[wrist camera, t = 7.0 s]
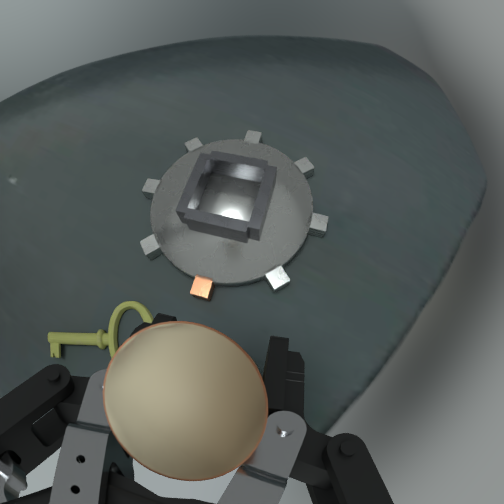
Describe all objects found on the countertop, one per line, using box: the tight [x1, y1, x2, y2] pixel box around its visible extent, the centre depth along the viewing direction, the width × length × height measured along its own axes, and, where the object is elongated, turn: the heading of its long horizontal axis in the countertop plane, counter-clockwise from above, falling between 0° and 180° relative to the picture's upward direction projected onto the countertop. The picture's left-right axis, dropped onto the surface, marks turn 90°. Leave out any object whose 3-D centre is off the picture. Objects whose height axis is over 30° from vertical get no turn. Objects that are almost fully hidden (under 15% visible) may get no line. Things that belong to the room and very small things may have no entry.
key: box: [48, 301, 154, 358], centre depth 25 cm, size 7×12×2 cm, turn 114°
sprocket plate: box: [140, 130, 328, 301], centre depth 28 cm, size 19×19×4 cm
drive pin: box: [103, 321, 268, 481], centre depth 11 cm, size 4×4×10 cm
